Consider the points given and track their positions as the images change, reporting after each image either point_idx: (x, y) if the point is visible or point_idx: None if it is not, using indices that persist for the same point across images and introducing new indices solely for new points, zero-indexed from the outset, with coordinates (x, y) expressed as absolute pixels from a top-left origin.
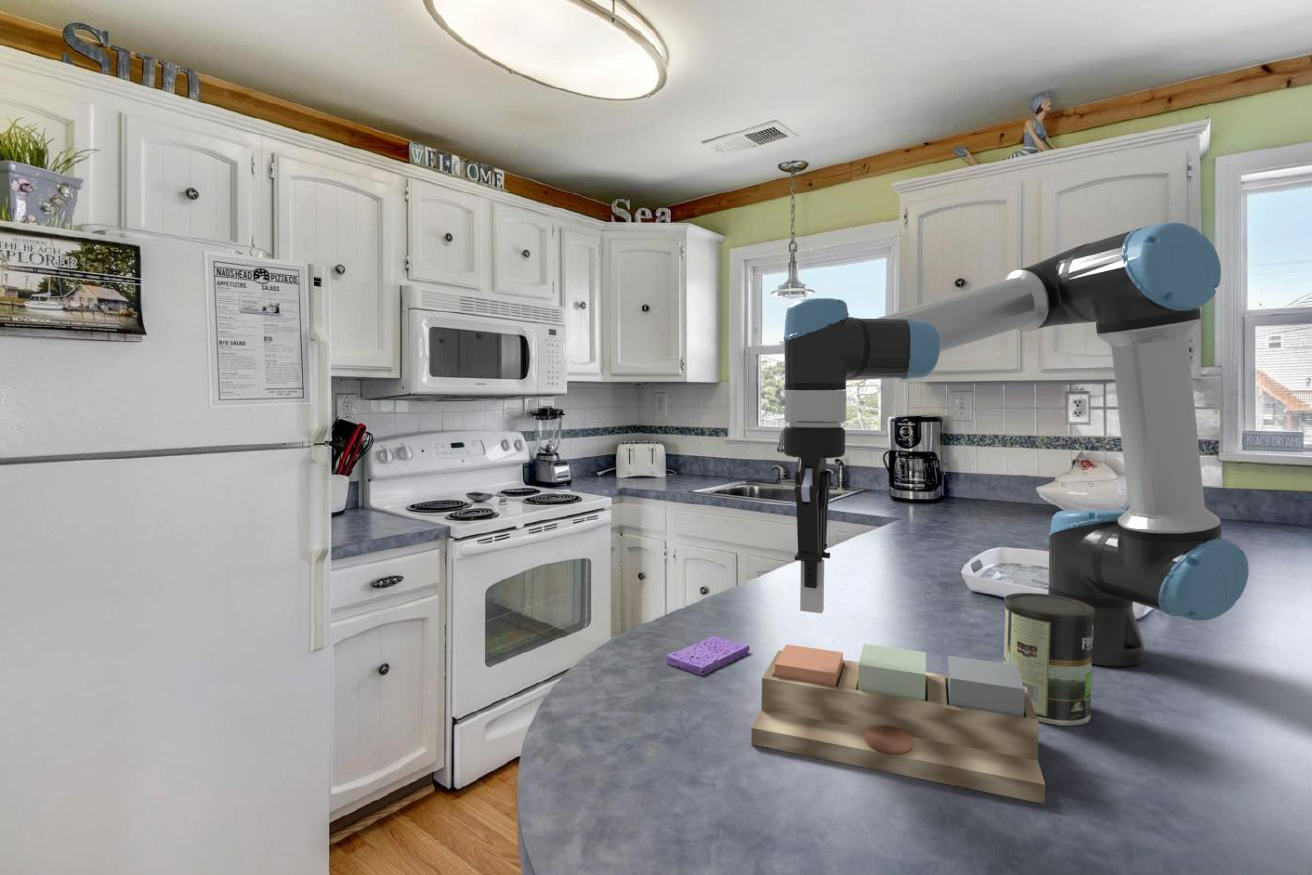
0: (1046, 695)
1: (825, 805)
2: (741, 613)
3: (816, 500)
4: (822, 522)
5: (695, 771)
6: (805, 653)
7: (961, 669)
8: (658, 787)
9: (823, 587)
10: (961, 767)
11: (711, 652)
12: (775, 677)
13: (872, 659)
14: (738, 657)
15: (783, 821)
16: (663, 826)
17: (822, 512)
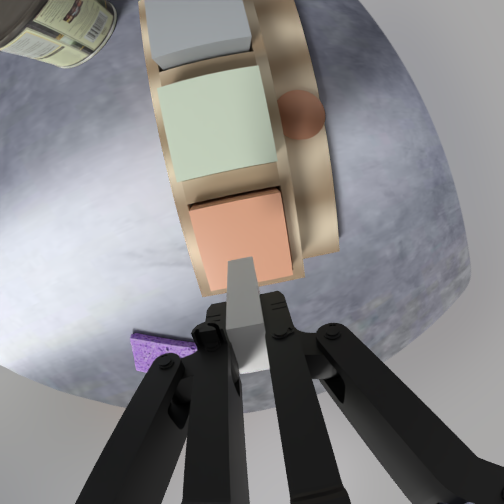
0: (104, 8)
1: (391, 155)
2: (63, 365)
3: (493, 465)
4: (231, 439)
5: (389, 262)
6: (228, 256)
7: (204, 30)
8: (413, 272)
9: (234, 284)
10: (305, 47)
11: None
12: (294, 264)
13: (241, 148)
14: (152, 336)
15: (419, 179)
16: (443, 246)
17: (230, 478)
